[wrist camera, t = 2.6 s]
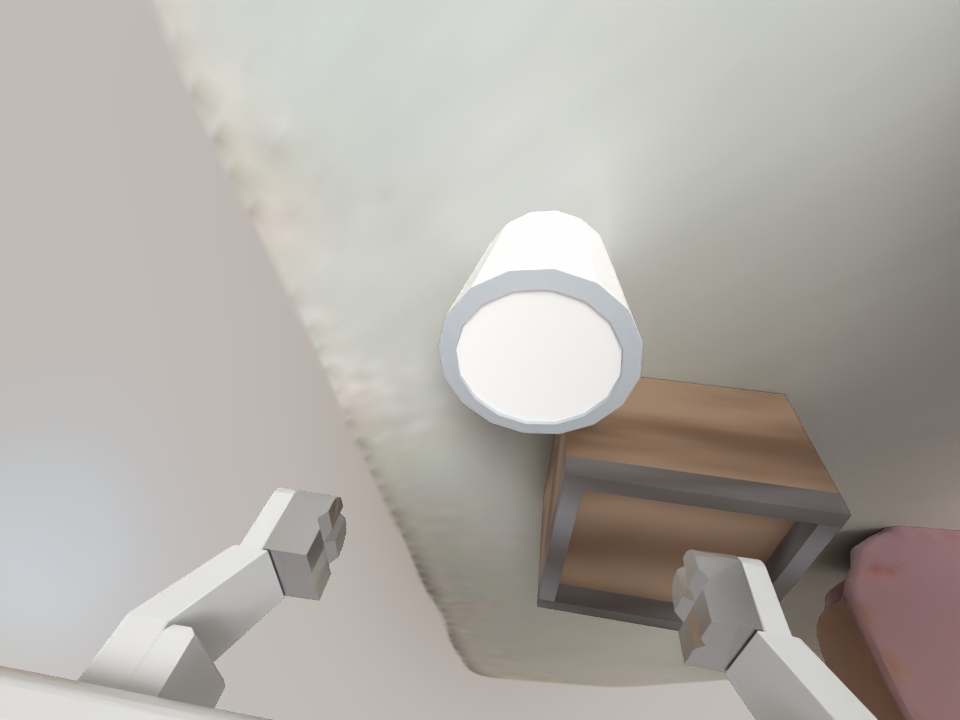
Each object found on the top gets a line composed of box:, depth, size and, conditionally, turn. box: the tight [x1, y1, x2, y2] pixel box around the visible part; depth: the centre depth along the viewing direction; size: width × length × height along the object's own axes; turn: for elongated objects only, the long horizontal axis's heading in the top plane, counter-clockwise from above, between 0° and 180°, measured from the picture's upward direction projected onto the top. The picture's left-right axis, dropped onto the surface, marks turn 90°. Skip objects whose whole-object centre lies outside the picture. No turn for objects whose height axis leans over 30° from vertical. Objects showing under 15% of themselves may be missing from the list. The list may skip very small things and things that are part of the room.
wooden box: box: [537, 377, 851, 631], centre depth 24 cm, size 11×11×7 cm
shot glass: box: [438, 211, 643, 434], centre depth 19 cm, size 7×7×7 cm
